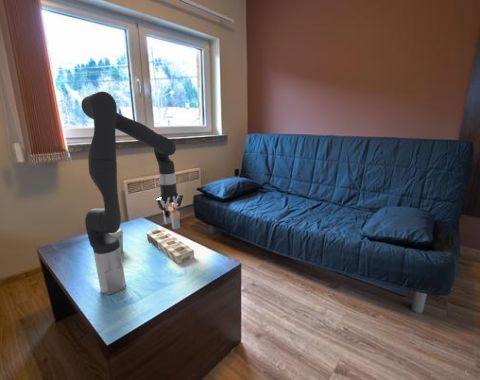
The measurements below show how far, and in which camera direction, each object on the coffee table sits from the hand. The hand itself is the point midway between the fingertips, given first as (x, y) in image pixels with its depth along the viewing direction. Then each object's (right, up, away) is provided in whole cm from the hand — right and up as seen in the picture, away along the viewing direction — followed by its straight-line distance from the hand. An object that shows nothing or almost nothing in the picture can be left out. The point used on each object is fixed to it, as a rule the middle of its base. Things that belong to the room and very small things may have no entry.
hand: (171, 216), depth 127 cm
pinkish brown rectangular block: (0, -5, +1) cm, 5 cm away
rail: (-4, -17, +9) cm, 20 cm away
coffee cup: (-29, -19, +6) cm, 36 cm away
